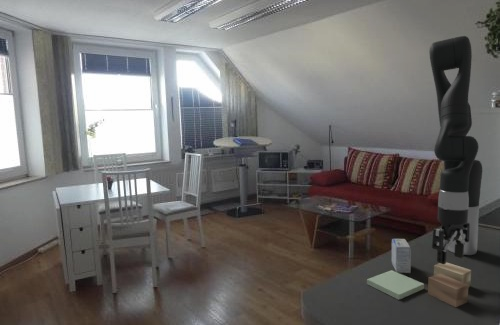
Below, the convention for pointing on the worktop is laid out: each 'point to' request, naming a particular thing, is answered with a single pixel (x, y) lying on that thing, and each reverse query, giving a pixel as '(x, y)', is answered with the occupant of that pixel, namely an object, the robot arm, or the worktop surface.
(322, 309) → the worktop surface
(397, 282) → the baseplate
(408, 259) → the medicine box
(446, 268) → the birch brick
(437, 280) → the walnut brick
